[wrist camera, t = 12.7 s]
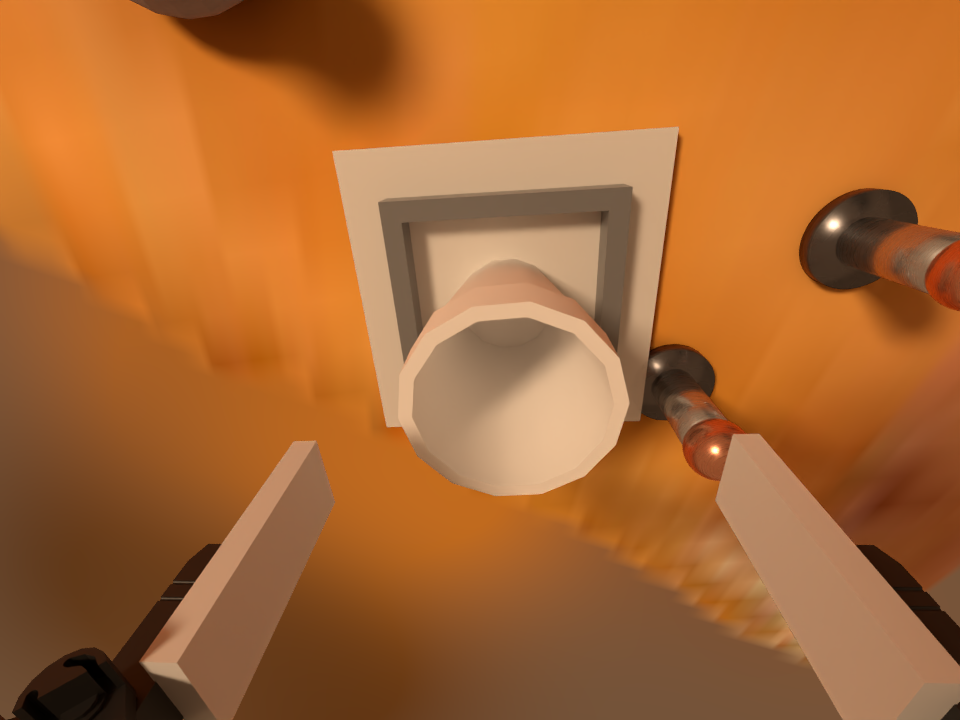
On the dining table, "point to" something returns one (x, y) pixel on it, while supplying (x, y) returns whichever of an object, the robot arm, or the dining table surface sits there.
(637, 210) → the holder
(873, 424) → the dining table surface
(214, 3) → the coffee pot
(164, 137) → the dining table surface
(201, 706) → the robot arm
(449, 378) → the foam cup
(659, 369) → the pegs
